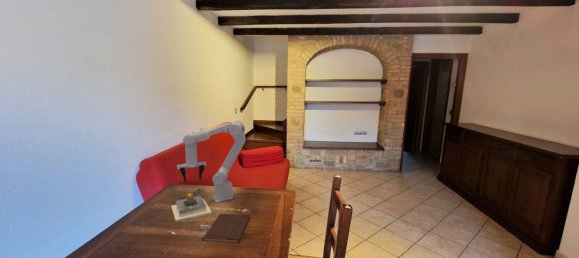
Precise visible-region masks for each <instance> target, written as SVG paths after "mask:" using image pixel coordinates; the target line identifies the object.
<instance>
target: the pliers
mask: <svg viewBox="0 0 579 258" xmlns="http://www.w3.org/2000/svg"><path fill="white" fill-rule="evenodd" d="M205 190H206V189H205V187H204V188H202V189H201V187H199V188H198V189H196V190H194V191H192V193H193V195H194V197H197V196H199V194H201V193H202V192H204V191H205ZM185 198H187V195H183V196H181V197H179V198H178V199H176V200H175V203H176V201H178V200H183V199H185Z"/></svg>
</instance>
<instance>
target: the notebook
mask: <svg viewBox="0 0 579 258" xmlns="http://www.w3.org/2000/svg"><path fill="white" fill-rule="evenodd" d="M250 219H251V214H245V213H241V214H237V213H235V214H234V213H219V214H218V215H217V217H216V219H215V220H214V221H213V223H212V225H211V226H210V228H209V229H208V230H207V232H206V233H205V234H204V236H203V237H202V238H201V239H202V241H208V242H210V241H211V242H227V243H238V244H239V243H240V241H241V238H242V236H243V234H244V231H245V230H246V227H247V225H248V222H249V220H250Z"/></svg>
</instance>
